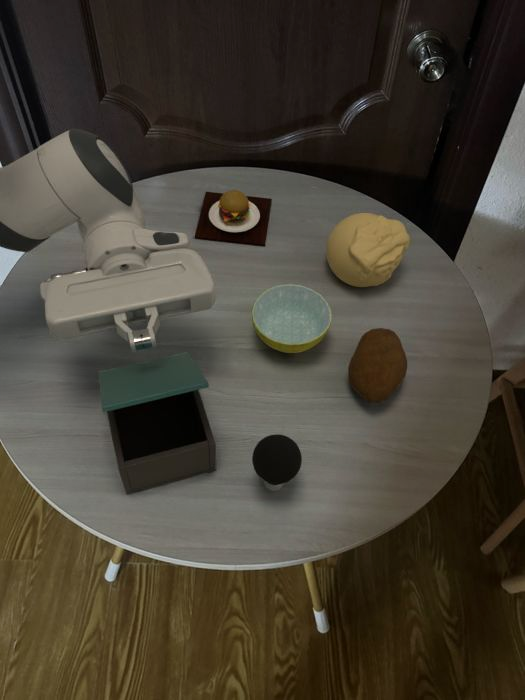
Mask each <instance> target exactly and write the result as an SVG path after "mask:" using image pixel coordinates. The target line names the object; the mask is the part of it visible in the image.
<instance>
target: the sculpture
mask: <svg viewBox="0 0 525 700" xmlns="http://www.w3.org/2000/svg"><path fill="white" fill-rule="evenodd" d="M410 242H411V238H410V235H409V234H408V231H407V229H406V227H405V225H404V224H403V223H402V222H401V221H400V220H398V219H395V218H393V219H390V218H387V217H386V216H384V215H381V214H379V215H378V214H375V213H369V212H359V213H354V214H351V215H349V216H346V217H345V218H344V219H342V220H341V221H339V222H338V224H337V225H335V227H334V228H333V230H331V233H330V234H329V237H328V239H327V242H326V250H325V251H326V259H327V263H328V265H329V267H330V270H331V271H332V272H333V274H334V275H335V276H336V277H337V278H338V279H339V280H341V281H342V282H344V283H345V284H348V285H350V286H352V287H357V288H367V287H377V286H379V285H381V284H384V283H385V282H386V281H388V280H389V279H391V277H392V274H393V272H394V271H395V270H396V269H397V268H398V267H399V265H400V264H401V262H402V260H403V255H405V253H406V252H407V250H408V248H409V245H410Z"/></svg>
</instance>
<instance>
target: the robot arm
mask: <svg viewBox="0 0 525 700" xmlns="http://www.w3.org/2000/svg"><path fill="white" fill-rule="evenodd" d="M132 182H133V181H132V180H131V176H130V174H129V171H128V170H127V167H126V166H125V164H124V162H123V161H122V158H121V157H120V156H119V154H118V153H117V151H116V150H115V149H114V148H113V147H112V145H110V143H109V142H107V140H106V139H104V138H103V137H102V136H99V135H97V134H95V133H92V132H89V131H87V130H84V129H80V128H70V129H69V130H67V131H64V132H63V133H61V134H58V135H57V136H55V137H53V138H51V139H50V140H47V141H46V142H44V143H43V144H41V145H39V146H38V147H37V148H35V149H34V150H32V151H30V152H28V153H27V154H24V155H23V156H21V157H20V158H18V159H16V160H14V161H13V162H11V163H9V164H7V165H5V166H2V167H0V248H3V249H6V250H10V251H14V252H20V253H29V252H31V251H33V250H34V249H35V248H37V247H38V246H40V245H41V244H42V243H44V242H46V241H48V240H49V239H50V238H51V237H53V235H55V234H57V233H59V232H61V231H62V230H64V229H66V228H68V227H70V226H72V225H73V224H75V223H77V227H78V231H79V235H80V236H81V239H82V241H83V242H82V252H83V257H84V261H85V266H86V268H80V269H75V270H72V271H67V272H64V273H61V272H60V273H54V274H51V275H50V278H48V279H46V280H44V281H43V282H41V283H40V284H39V285H40V286H39V293H40V294H39V295H40V299H41V300H42V302H43V303H44V315H45V322H46V325H47V329H48V331H49V333H50V335H51V336H52V337H54V338H55V339H56V340H59V341H64V340H69V339H74V338H77V337H78V338H79V337H83V336H87V335H92V334H97V333H102V332H106V331H112V330H115V329H116V332H117V335H119V336H120V337H121V338H123V339H124V340H125V341H126V342H127V343H128V342H129V347H130V351H131V353H133V352H138V351H142V350H147V349H151V348H156V347H157V341H156V337H155V336H156V334H157V332H158V330H159V328H160V320H165V319H169V318H174V317H178V316H183V315H187V314H193V313H198V312H202V311H207V310H210V309H212V308H213V307H214V305H215V303H216V297H217V295H216V286H215V282H214V279H213V277H212V274H211V272H210V270H209V269H208V267H207V264H206V263H205V261H204V260H203V257H201V255H200V254H199V253H198V252H197V251H195V250H194V249H192V248H191V245H190V241H189V238H188V236H187V234H186V233H184V232H181V231H179V232H178V231H164V230H163V231H162V230H154V229H148V228H146V219H145V215H144V212H143V209H142V206H141V204H140V200H139V199H138V197H137V194H136V192H135V190H134V186H133V183H132ZM144 323H147V326H146V328H141V329H137V330H133V329H131V327H132V326H135V325H140V324H144Z"/></svg>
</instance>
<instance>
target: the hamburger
mask: <svg viewBox="0 0 525 700" xmlns="http://www.w3.org/2000/svg"><path fill="white" fill-rule="evenodd" d="M272 199H273V198H268V197H261V196H260V197H259V196H253V195H252V196H251V195H246V194H245V193H244V192H242V191H240V190H236V189H231V190H227V191H225V192H223V193H222V192H216V191H215V192H214V191H205V194H204V197H203V201H202V205H201V209H200V214H199V217H198V222H197V226H196V230H195V233H194V239H195V240H201V241H202V240H203V241H209V242H211V241H212V242H221V243H229V244H238V245H247V246H255V247H265V246H266V240H267V233H268V226H269V220H270V213H271V206H272Z"/></svg>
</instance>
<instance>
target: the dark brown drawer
mask: <svg viewBox="0 0 525 700" xmlns="http://www.w3.org/2000/svg"><path fill="white" fill-rule="evenodd" d="M106 415H107V419H108V424H109V429H110V434H111V439H112V445H113V449H114V453H115V459H116V464H117V469H118V473H119V475H120V479H121V482H122V486H123V489H124V492H125V495H130V494H135V493H138V492H142V491H146V490H149V489H153V488H156V487H161V486H164V485H167V484H168V485H169V484H172V483H175V482H179V481H182V480H186V479H190V478H193V477H197V476H200V475H204V474H209V473H212V472H215V471H217V455H216V452H217V451H216V449H217V447H216V441H215V438H214V434H213V431H212V428H211V425H210V422H209V418H208V415H207V412H206V409H205V405H204V403H203V399H202V395H201V393H200V389H199V390H195V391H191V392H187V393H182V394H178V395H174V396H170V397H166V398H161V399H157V400H153V401H149V402H145V403H141V404H136V405H132V406H128V407H124V408H120V409H116V410H111V411H107V412H106Z"/></svg>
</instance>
